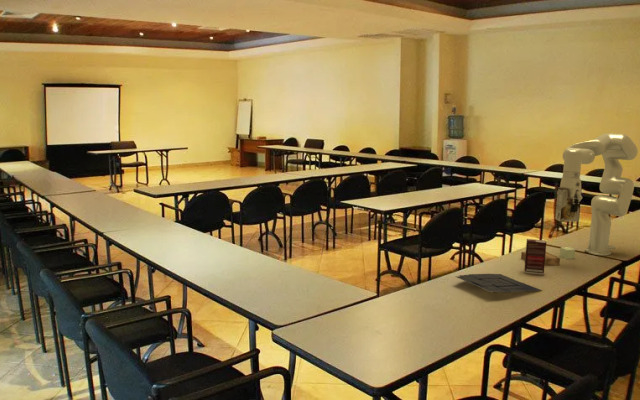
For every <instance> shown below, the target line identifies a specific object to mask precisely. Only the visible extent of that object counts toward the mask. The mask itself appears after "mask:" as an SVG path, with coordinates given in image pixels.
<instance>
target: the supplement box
mask: <svg viewBox="0 0 640 400" xmlns="http://www.w3.org/2000/svg"><path fill="white" fill-rule="evenodd" d="M525 252H526V254H525V260H524V269H523V270H524V274H531V275H540V276H541V275H543V276H544V274H545V267H546V266H545V254H546V252H547V240H543V239H533V238H526V245H525Z"/></svg>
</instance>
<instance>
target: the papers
mask: <svg viewBox="0 0 640 400" xmlns="http://www.w3.org/2000/svg"><path fill="white" fill-rule="evenodd" d="M456 278H457V279H460V280H462V281H464V282H466V283H469V284H471V285H473V286H476V287H478V288H480V289H482V290H485V291H487V292H489V293H495V292H496V293H515V292H535V291H537V292H538V291H541V292H542V289H540V288H537V287H535V286H532V285H530V284H527V283H524V282H522V281H519V280H516V279H515V278H511V277H508V276H506V275H504V274H502V273H472V274H471V273H470V274H469V273H468V274H462V275H458V276H456Z"/></svg>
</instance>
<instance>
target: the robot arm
mask: <svg viewBox="0 0 640 400" xmlns="http://www.w3.org/2000/svg"><path fill="white" fill-rule="evenodd" d="M598 156H602V159H603V162H604V168H603V169H604V170H603V173H602V176H601V178H600V179H601V180H600V183H599V191H600V192H601V193H603V195H602V194H598V195H595V196H593V197H592V199H591V203H590V205H591V206H590V209H591V220H590V228H589V237H588V247H586V248H584V252H585V253H587V254H590V255H595V256H603V257H604V256H605V257H606V256H611V254H612V252H611V250H615V249H616V245H610V244H609V243H610V235H611V226H612V220H611V217H610V215H611V216H616V217H617V216H618V217H623V216H625V215H627V213H628V210H629V207H630V205H631V201H632V197H633V194H634V189H635V184H634V181H633V180H632V179H631V178H627V177H622V174H623V171H624V170H623V166H622V164H621V162H620V161H619V160H621V161H622V160H623V161H633V160H634V159H636V158H637V156H638V147H637V145H636V143H635V142H634V140H632V138H631V137H629V135H627V134H625V133H612V132H606V133H603V134H600V135H599V136H597V137H595V138H593V139H591V140H587V141H582V142H577V143H574V144H571V145H569V146H568V147H566V148H565V149H564V150H563V152H562V159H563V161H564V162H563V170H562V176H561V180H560V184H559V187H561V188H565V189H569V198H570V199H571V200H572V204H571V212H577V206H578V204H579V202H580V203H581V201H582V199H583V196H582V180H581V178H580V177H581V172H582V171H581V170H582V165H590V164H591V163H593V162H594V161H595V158H596V157H598ZM556 194H557V195H558V190H557V191H556ZM575 194H576V195H577V196H576V198H574V196H575ZM604 194H608V195H604ZM610 195H614V196H610ZM617 196H618V197H617ZM577 197H578V198H577ZM574 199H576V200H575V201H574Z"/></svg>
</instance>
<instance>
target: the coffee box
mask: <svg viewBox="0 0 640 400" xmlns="http://www.w3.org/2000/svg"><path fill="white" fill-rule="evenodd" d="M557 191H558V195H557V196H556V197H557V199H556V207H555V208H556V209H555V218H554V219H555V220H557V221H558V222H575V223H576V222H580V220H579V219H580V211H581V210H580V209H581V201H580V202H579V204H578V206H577V212H571V204H572V200H571V199H570V198H569V189H565V188H561V187H560V186H559V187H557ZM576 196H577V195H576V194H575V196H574V198H576ZM577 198H578V197H577ZM575 200H576V199H574V201H575Z"/></svg>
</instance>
